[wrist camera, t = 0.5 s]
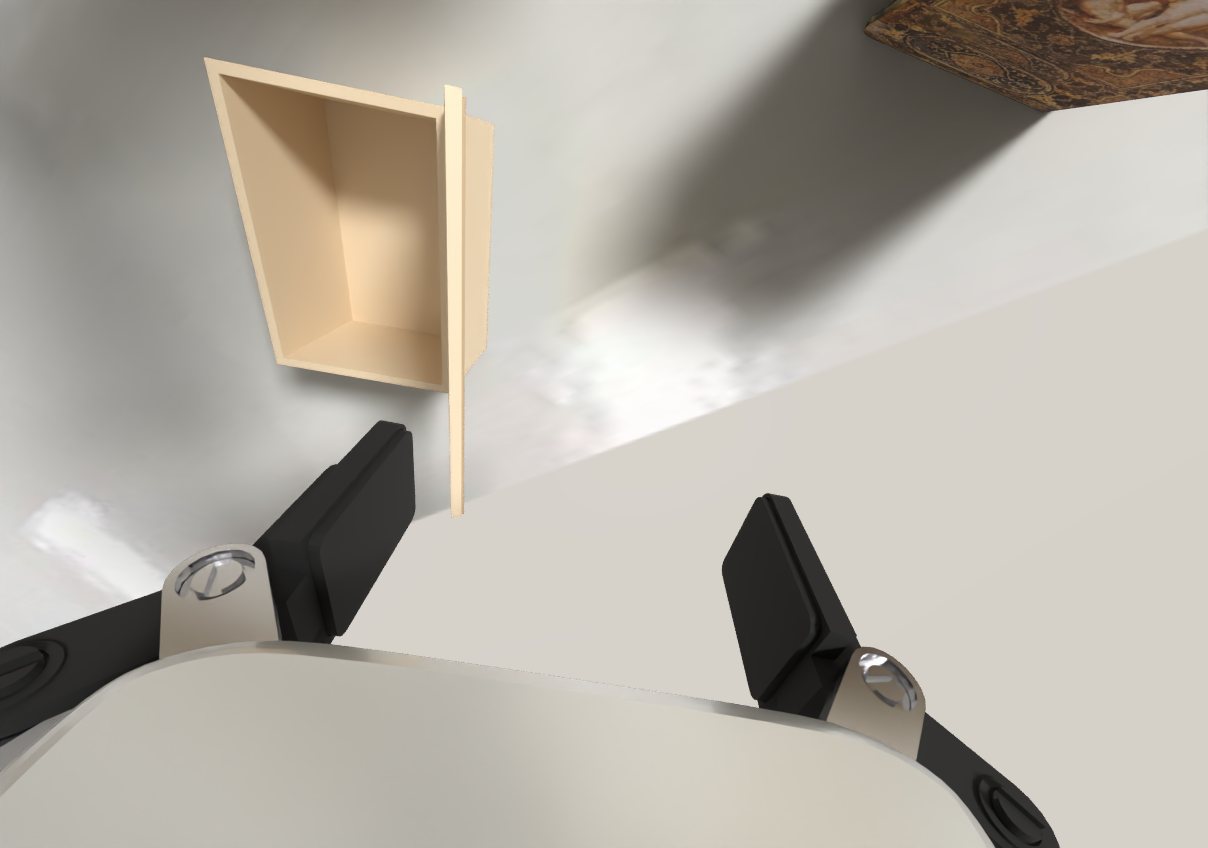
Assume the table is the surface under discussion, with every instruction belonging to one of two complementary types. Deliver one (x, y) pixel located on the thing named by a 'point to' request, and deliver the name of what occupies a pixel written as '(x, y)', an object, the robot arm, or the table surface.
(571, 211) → the table surface
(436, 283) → the carton
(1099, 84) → the book
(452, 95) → the lid
